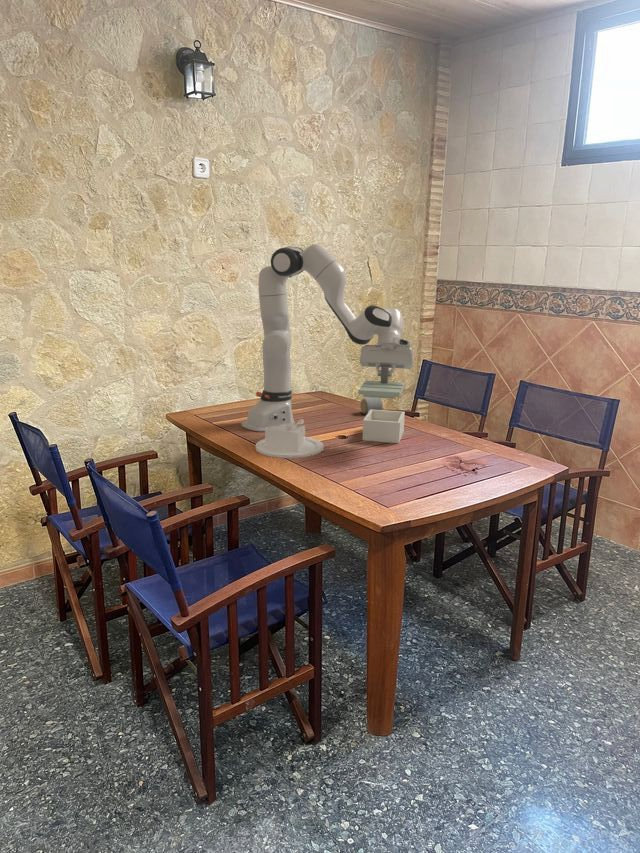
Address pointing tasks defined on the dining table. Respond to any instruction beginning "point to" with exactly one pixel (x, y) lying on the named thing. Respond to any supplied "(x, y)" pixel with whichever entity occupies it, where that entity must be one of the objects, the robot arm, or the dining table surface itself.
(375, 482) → the dining table surface
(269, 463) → the dining table surface
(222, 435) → the dining table surface
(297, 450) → the dish
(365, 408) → the ceramic mug
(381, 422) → the tub
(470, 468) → the cloth
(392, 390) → the lid
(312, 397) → the dining table surface
